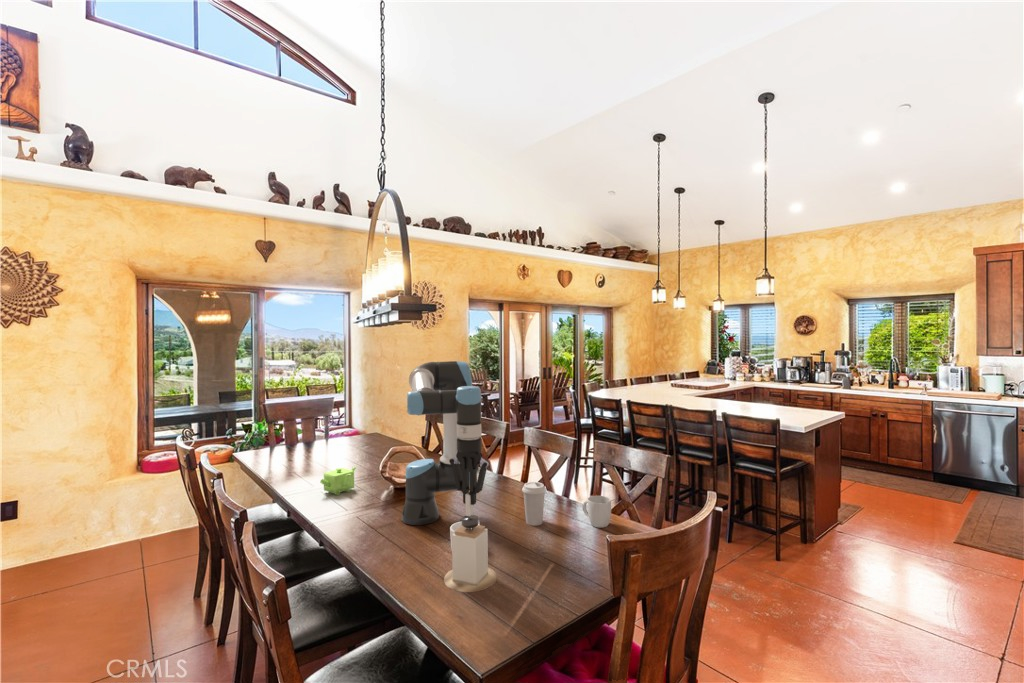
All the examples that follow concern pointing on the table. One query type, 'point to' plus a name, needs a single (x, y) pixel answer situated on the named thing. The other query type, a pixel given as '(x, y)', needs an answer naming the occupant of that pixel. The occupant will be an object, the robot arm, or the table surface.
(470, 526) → the plunger
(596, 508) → the mug
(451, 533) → the mug
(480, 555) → the white french press
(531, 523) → the coffee cup
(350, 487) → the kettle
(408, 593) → the table surface
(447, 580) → the trivet
